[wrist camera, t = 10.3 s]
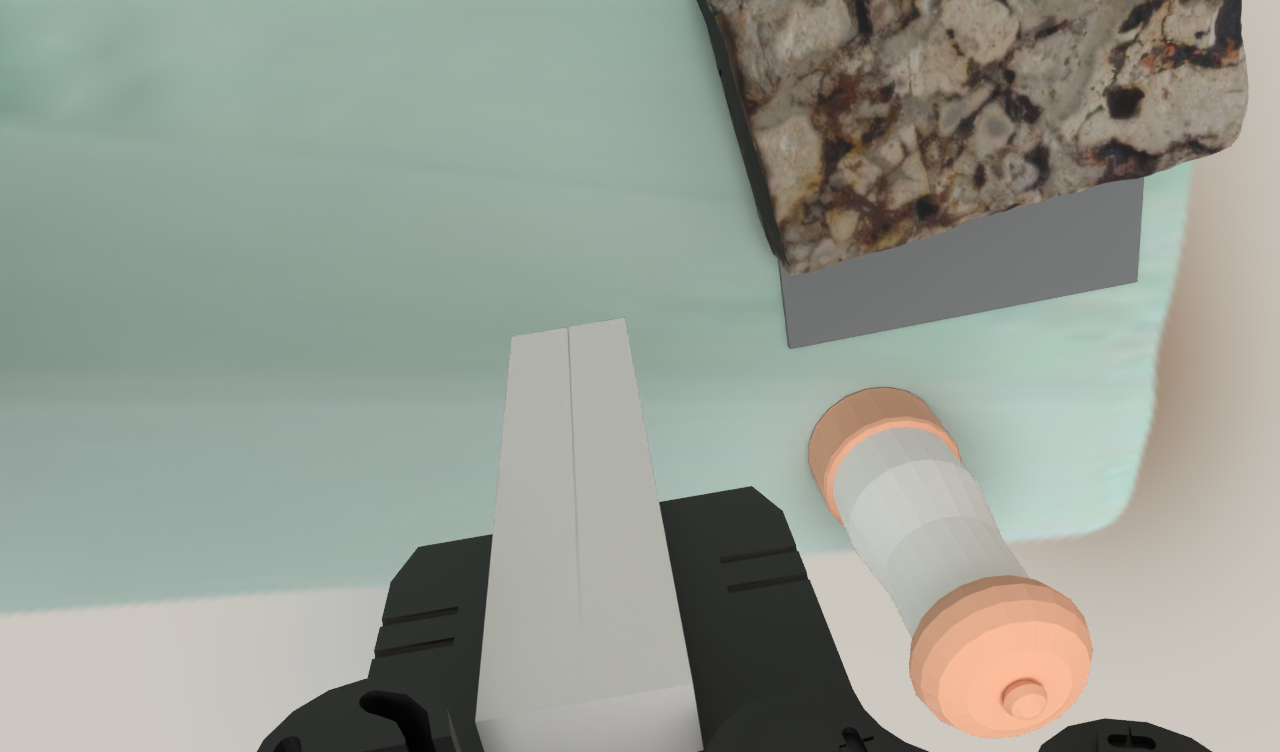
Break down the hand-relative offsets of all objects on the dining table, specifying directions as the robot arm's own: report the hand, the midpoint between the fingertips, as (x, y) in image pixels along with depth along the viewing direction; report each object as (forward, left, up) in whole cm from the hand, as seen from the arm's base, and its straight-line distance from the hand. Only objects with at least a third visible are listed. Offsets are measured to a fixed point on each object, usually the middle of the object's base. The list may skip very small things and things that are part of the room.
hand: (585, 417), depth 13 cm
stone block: (+7, -4, -30) cm, 30 cm away
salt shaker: (+12, -22, -32) cm, 41 cm away
